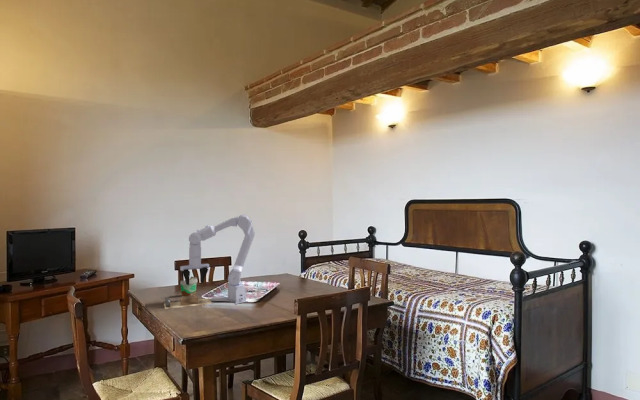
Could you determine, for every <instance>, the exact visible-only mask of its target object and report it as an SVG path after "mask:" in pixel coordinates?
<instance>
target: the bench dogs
mask: <svg viewBox="0 0 640 400" xmlns="http://www.w3.org/2000/svg"><path fill="white" fill-rule="evenodd" d="M164 303H165V305H166V307H170V303H171V298H170V297H169V296H166V297H165V298H164Z"/></svg>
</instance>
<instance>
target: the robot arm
mask: <svg viewBox="0 0 640 400" xmlns="http://www.w3.org/2000/svg"><path fill="white" fill-rule="evenodd" d="M237 226H238V228H240V229H241V230H242V231H243V234H244V236H243V237H244V238H243V239H242V242H241V245H240V248H239V252H238V254H237V257H236V258H235V259H236V260H235V262H234V265H233V267H232V269H231V270H230V271H229V273H228V277H227V281H228V282H227V299H228V301H231V302H232V303H233V304H234V305H238V304H242V303H247V302H248V301H246V300H247V289H246V287H245V286H244V285H243V282H242V281H241V279H242V271H243V267H244V265H245V262H246V260H247V257H248V255H249V252H250V250H251V249H250V248H251V246H252V243H253V241H254V237H255V229H254V225H253V223H252V220H251V219H250V217H249V216H248V215H247V214H241V215H237V216H234V217H231V218H229V219H227V220H225V221H222V222H221V223H219V224H216V225H215V226H214V225H209V224H208V225H205V226H204V228H201V229H197V230H196V231H194V232H192V233H190V234H189V237H188V241H189V247H188V248H189V252H188V259H189V260H188V265H187V264H186V265H181V266H179V268H180V269H179V271H181V273H182V275H183V277H184V281H186V284H187V285H189V279H190V277H191V276H190V275H191V271H190V270H199V272H200V273H199V274H200V276H199V280H200V283H201V284H204V283H205V279H206V276H207V273H208V272H209V269H210V264H209V263H202V245H201V244H202V241H206V240H209V239H211V238H213V237H215V236H216V234H217V233H218V232H220V231H222V230H224V229H227V228H230V227H237Z"/></svg>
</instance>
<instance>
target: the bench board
mask: <svg viewBox="0 0 640 400" xmlns="http://www.w3.org/2000/svg"><path fill="white" fill-rule="evenodd" d="M211 304H212V305H213V302H212V301H211V299H210V297H209V298H208V297H207V298H198V304H191V305H182V306H181V304H180V301H172V302H171V301H170V307H166V305H165V302H164V303H163V306H164V309H165V310H171V309H178V308H186V307H195V306H202V305H204V306H205V305H211Z"/></svg>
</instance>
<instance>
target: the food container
mask: <svg viewBox="0 0 640 400" xmlns="http://www.w3.org/2000/svg"><path fill="white" fill-rule="evenodd" d="M198 282H199V281H198V278H197V277H196V276H190V277H189V285H187V284H186V281H185V280H180V282H179V285H180V292H181V293H180V294H181V297H183V296H192V295H197V283H198Z"/></svg>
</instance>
